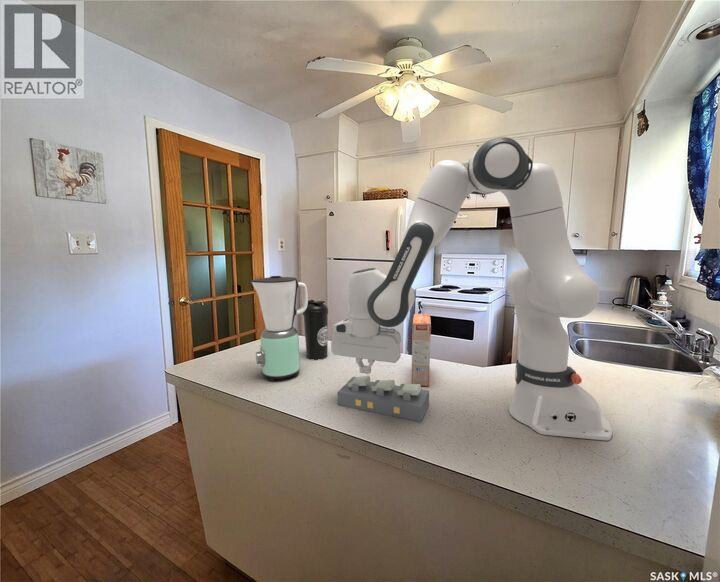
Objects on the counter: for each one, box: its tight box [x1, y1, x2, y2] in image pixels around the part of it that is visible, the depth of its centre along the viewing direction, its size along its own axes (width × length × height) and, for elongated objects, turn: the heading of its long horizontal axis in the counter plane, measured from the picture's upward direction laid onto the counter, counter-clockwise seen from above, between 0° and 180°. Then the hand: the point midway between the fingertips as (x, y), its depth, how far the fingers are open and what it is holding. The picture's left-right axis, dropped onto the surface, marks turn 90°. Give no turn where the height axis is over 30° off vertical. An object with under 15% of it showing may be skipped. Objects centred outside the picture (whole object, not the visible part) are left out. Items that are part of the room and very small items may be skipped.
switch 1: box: [346, 375, 371, 387], centre depth 95 cm, size 6×4×2 cm
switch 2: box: [371, 379, 396, 391], centre depth 93 cm, size 6×4×2 cm
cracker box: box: [411, 313, 432, 387], centre depth 110 cm, size 14×6×21 cm, turn 168°
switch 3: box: [397, 383, 422, 395], centre depth 90 cm, size 6×4×2 cm
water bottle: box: [302, 299, 329, 361], centre depth 132 cm, size 10×10×23 cm
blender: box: [250, 275, 309, 383], centre depth 114 cm, size 19×13×35 cm
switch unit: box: [337, 380, 430, 423], centre depth 93 cm, size 24×10×6 cm, turn 67°
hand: (365, 372), depth 94 cm, fingers closed
